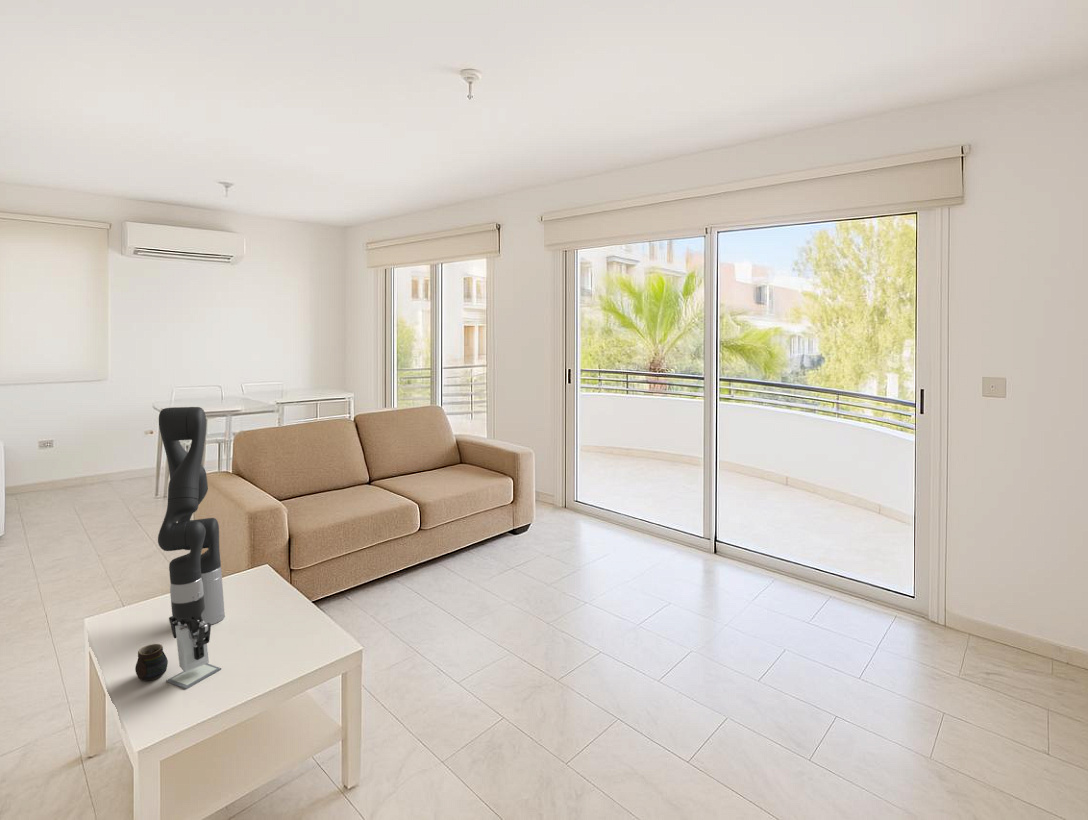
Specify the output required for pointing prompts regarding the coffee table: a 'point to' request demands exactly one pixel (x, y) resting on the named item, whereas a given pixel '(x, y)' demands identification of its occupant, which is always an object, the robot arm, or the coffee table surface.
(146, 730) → the coffee table surface
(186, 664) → the skincare box
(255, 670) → the coffee table surface
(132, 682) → the coffee table surface
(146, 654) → the mate gourd
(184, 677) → the slate gray picture frame
